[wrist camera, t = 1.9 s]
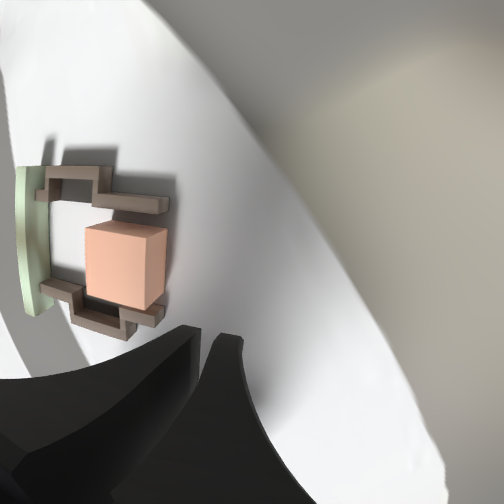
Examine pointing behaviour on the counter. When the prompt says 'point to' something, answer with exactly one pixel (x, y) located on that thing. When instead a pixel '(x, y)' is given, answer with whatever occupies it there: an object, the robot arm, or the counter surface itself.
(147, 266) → the block
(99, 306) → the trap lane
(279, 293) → the counter surface
